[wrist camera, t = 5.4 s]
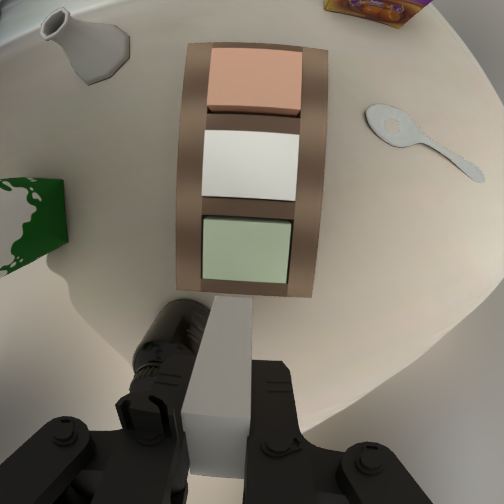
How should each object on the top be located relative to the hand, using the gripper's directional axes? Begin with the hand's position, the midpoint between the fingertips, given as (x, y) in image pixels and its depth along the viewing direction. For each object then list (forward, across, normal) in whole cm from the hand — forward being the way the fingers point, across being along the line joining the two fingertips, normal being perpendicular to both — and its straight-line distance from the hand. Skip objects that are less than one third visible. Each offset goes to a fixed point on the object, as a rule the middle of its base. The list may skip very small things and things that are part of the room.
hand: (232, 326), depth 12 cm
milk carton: (+18, -24, +2) cm, 30 cm away
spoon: (+18, +21, +11) cm, 30 cm away
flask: (+18, -17, +20) cm, 31 cm away
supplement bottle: (+18, -6, -10) cm, 21 cm away
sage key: (+17, 0, 0) cm, 17 cm away
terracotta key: (+15, 0, +14) cm, 21 cm away
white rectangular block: (+15, 0, +7) cm, 17 cm away
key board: (+17, 0, +7) cm, 19 cm away
